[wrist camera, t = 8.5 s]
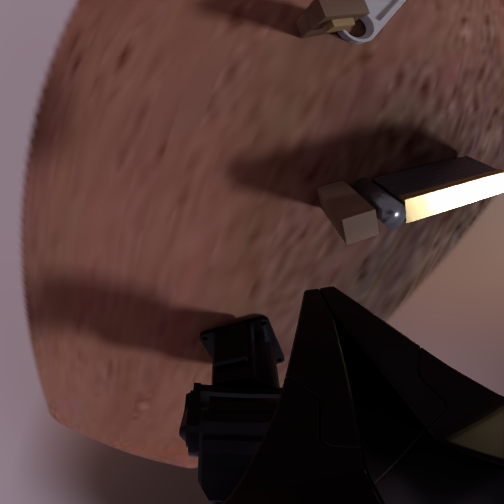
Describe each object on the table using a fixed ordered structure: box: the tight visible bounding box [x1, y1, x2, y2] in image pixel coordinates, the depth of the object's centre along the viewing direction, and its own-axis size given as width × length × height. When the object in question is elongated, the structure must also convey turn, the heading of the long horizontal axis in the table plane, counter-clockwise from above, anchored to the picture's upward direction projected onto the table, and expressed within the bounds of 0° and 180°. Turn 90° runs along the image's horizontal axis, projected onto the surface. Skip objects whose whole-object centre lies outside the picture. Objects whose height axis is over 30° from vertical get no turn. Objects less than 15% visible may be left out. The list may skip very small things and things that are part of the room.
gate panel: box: [353, 156, 504, 228], centre depth 16 cm, size 11×2×5 cm, turn 107°
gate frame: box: [295, 0, 379, 245], centre depth 14 cm, size 14×3×6 cm, turn 8°
